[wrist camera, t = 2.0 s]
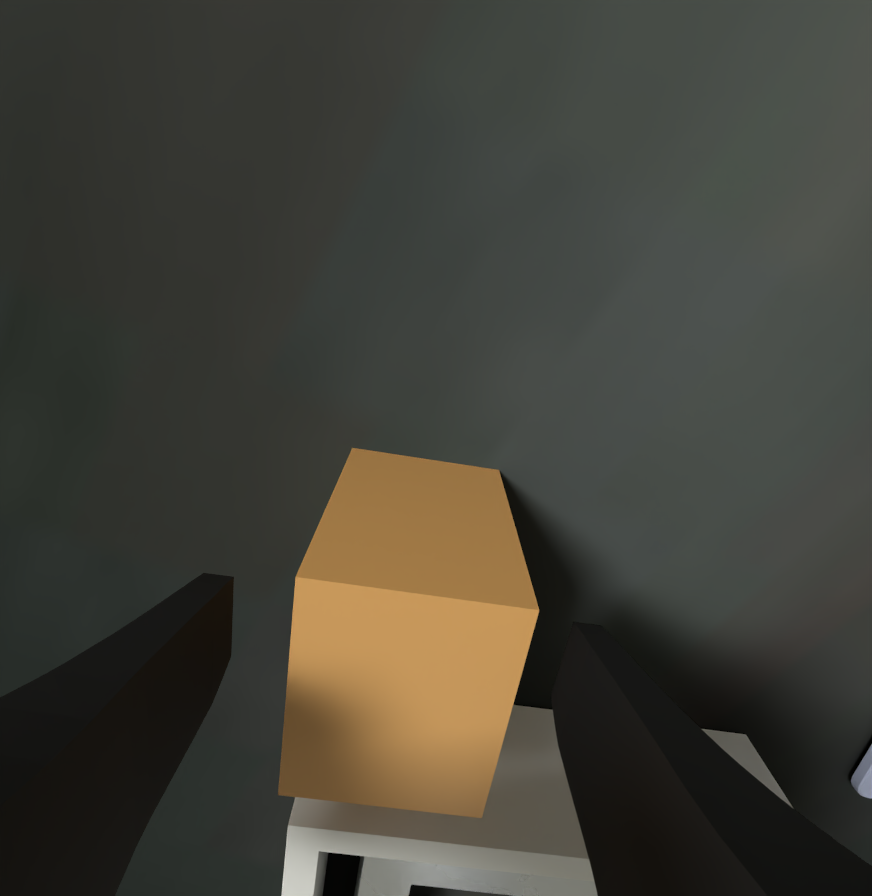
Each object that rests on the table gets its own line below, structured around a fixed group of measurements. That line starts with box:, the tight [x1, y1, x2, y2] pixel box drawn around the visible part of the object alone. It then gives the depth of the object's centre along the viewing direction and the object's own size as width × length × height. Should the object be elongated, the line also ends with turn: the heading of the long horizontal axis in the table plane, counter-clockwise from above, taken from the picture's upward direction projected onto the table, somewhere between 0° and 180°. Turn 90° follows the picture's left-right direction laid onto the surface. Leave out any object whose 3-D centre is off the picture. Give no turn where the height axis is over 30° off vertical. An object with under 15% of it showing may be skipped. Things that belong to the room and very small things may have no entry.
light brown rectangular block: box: [278, 448, 539, 818], centre depth 12 cm, size 4×5×6 cm
